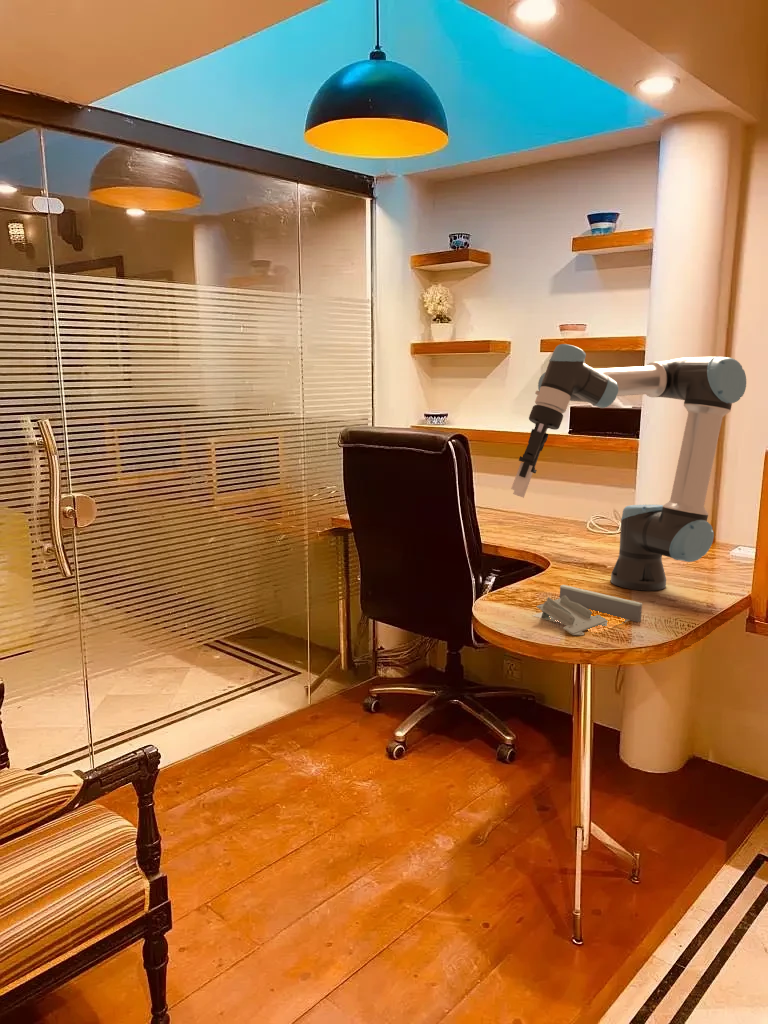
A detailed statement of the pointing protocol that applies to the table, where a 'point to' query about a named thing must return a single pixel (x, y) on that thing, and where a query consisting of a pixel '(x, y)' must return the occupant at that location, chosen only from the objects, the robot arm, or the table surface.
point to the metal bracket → (571, 615)
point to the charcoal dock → (601, 603)
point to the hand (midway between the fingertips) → (517, 493)
